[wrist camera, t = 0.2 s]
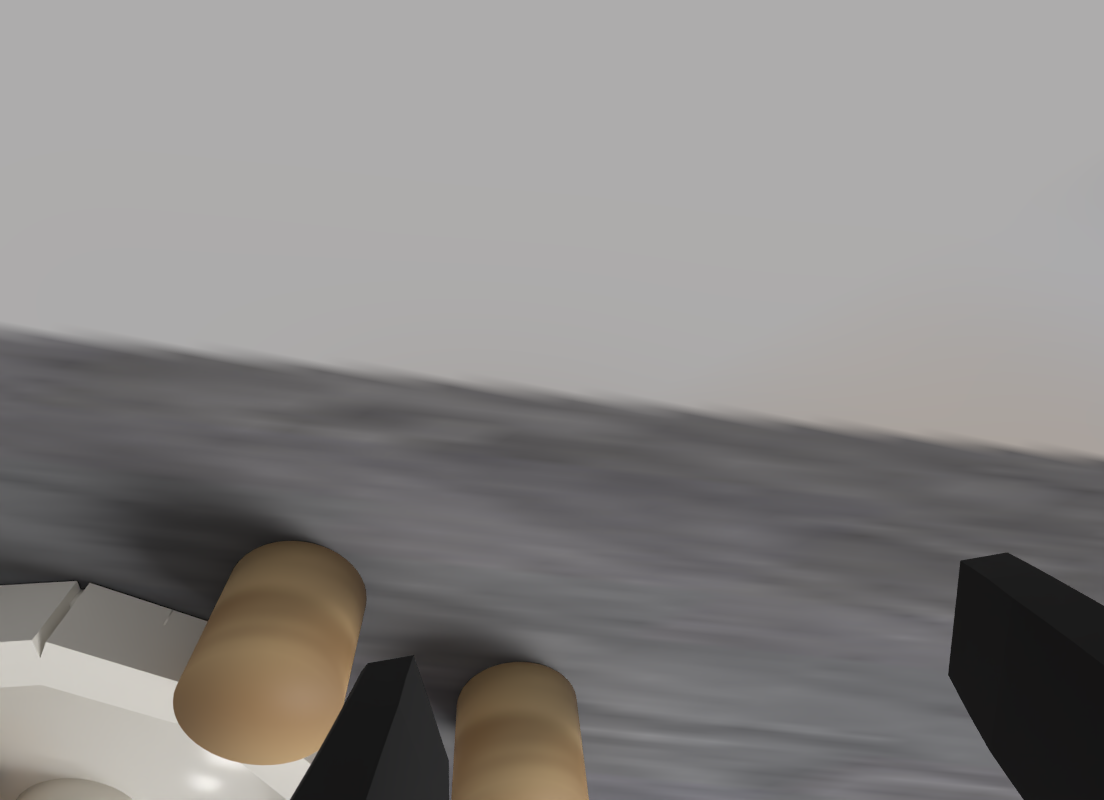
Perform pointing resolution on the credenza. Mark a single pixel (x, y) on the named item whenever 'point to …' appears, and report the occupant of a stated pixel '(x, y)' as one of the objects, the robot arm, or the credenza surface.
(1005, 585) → the robot arm
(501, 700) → the bead
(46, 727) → the tray
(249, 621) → the bead
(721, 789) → the credenza surface
